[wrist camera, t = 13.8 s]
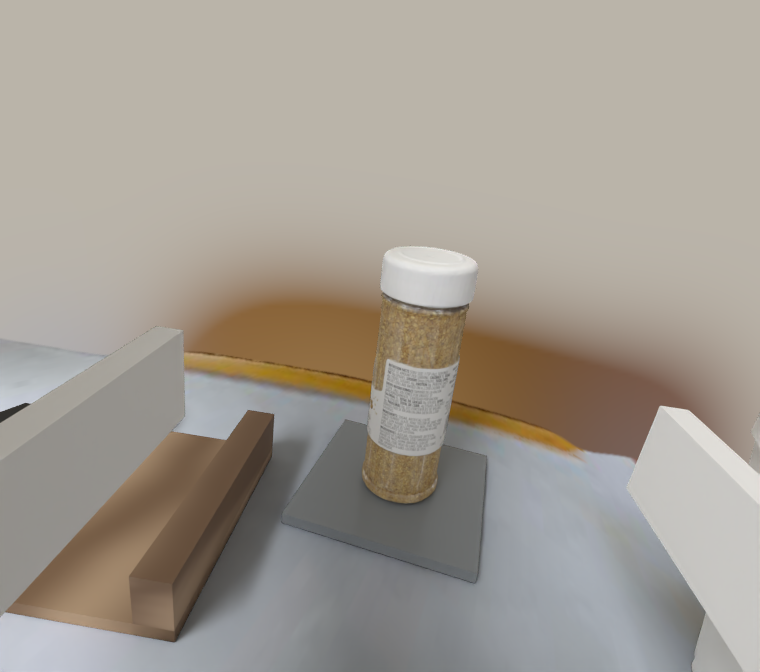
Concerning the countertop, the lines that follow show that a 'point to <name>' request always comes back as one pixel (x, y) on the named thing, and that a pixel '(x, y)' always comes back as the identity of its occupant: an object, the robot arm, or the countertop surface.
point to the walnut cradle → (155, 536)
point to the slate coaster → (395, 507)
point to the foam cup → (712, 655)
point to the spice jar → (415, 368)
